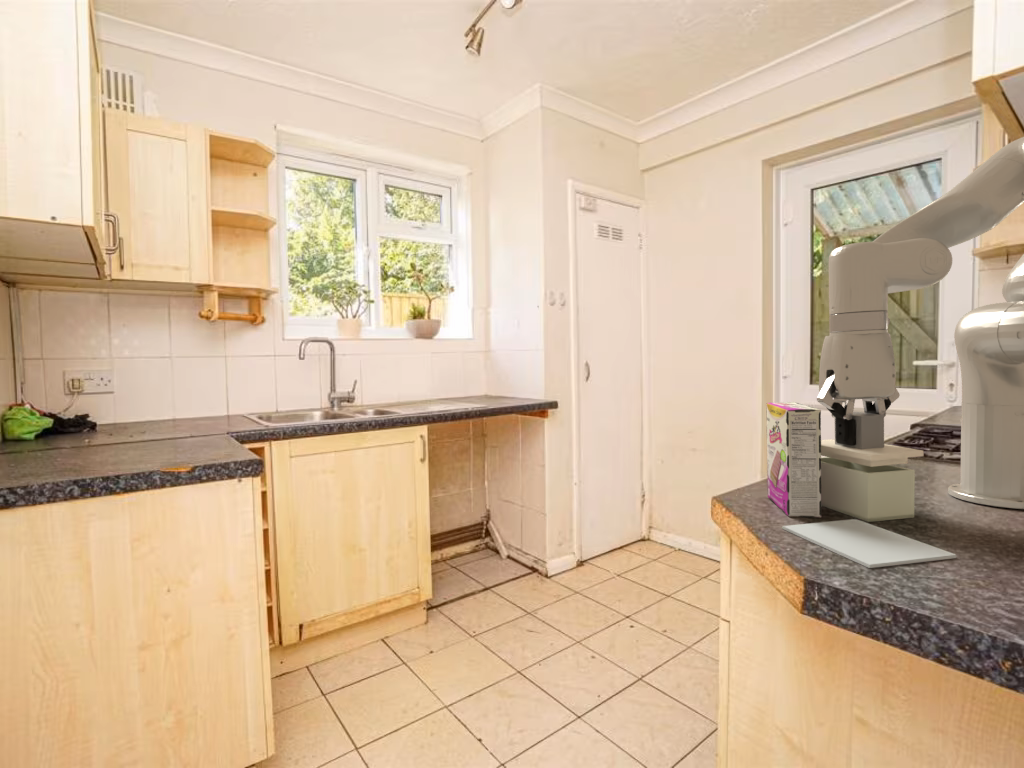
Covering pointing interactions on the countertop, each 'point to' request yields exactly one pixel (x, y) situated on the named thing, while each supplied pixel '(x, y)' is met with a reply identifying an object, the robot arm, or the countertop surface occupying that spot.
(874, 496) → the tub
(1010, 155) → the robot arm
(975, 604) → the countertop surface
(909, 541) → the board
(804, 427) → the candy bar box
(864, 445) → the lid
